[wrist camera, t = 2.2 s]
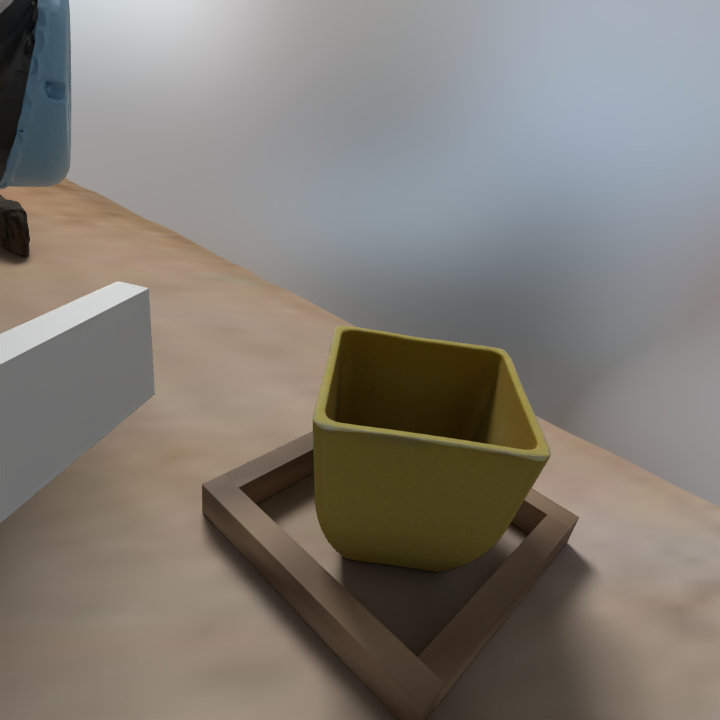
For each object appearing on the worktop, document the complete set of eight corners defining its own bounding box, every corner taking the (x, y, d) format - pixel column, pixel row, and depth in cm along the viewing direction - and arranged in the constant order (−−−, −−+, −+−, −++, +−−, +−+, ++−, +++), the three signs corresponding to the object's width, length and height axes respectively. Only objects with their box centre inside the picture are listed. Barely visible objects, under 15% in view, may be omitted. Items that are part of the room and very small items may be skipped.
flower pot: (290, 589, 22) (310, 421, 18) (317, 460, 30) (335, 321, 26) (489, 618, 22) (555, 459, 18) (465, 483, 30) (508, 348, 26)
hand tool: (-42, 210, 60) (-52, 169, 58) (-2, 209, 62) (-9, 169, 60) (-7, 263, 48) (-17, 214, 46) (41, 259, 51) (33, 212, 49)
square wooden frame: (202, 512, 25) (202, 484, 24) (379, 419, 34) (383, 397, 34) (413, 736, 18) (423, 708, 17) (567, 541, 27) (579, 517, 26)
